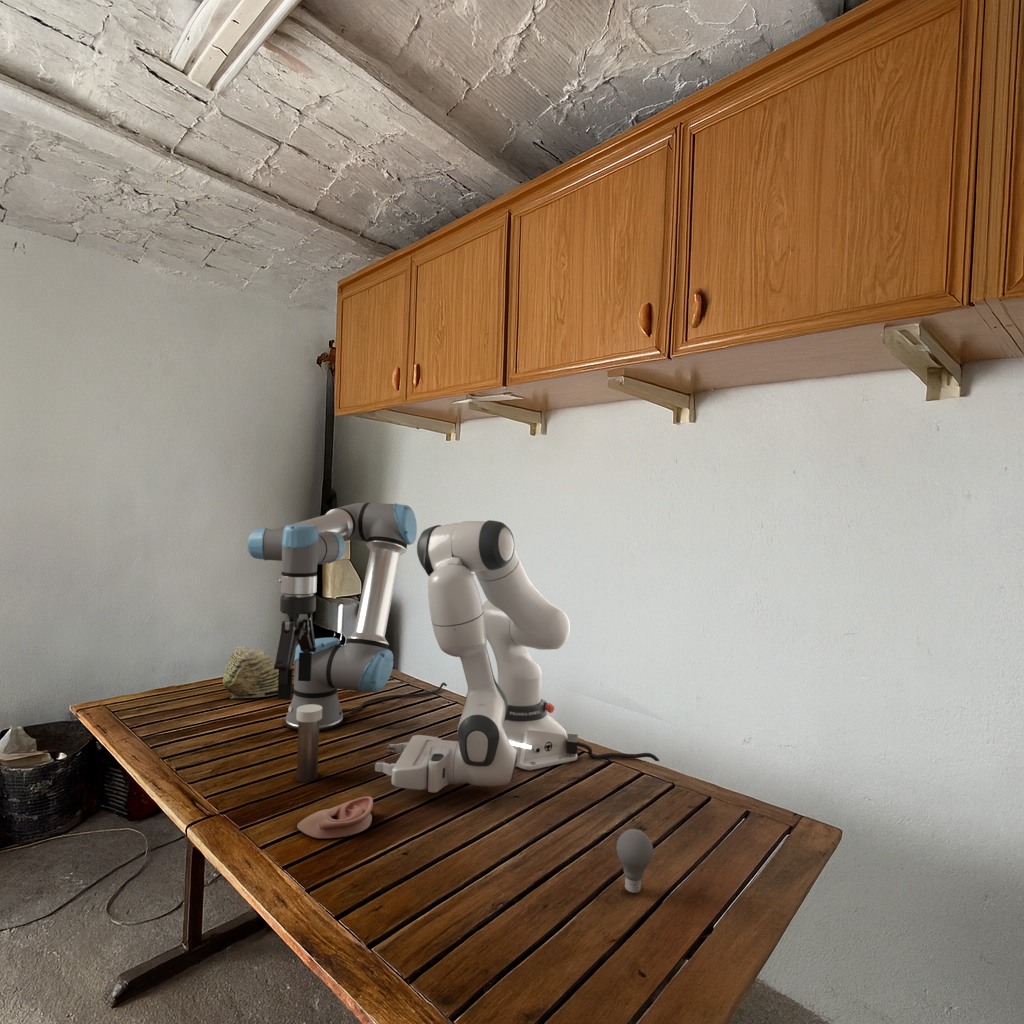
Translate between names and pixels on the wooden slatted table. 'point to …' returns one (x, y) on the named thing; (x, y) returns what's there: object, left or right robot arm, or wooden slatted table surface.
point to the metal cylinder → (307, 751)
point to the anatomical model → (339, 819)
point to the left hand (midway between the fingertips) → (295, 689)
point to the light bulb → (634, 857)
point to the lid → (309, 713)
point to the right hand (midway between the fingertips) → (381, 757)
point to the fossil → (250, 674)
